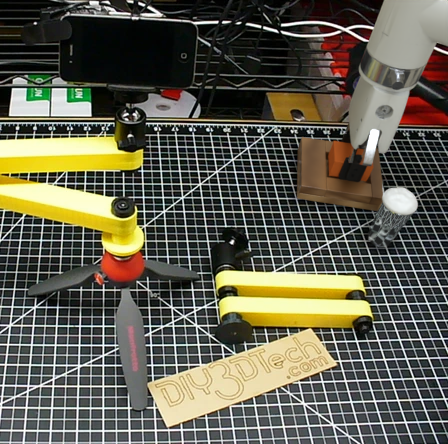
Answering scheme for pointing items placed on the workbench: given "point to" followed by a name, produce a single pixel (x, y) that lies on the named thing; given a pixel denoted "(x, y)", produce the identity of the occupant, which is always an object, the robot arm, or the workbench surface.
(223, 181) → the workbench surface
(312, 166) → the wooden tray
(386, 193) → the milkshake
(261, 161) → the workbench surface
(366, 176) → the orange block
